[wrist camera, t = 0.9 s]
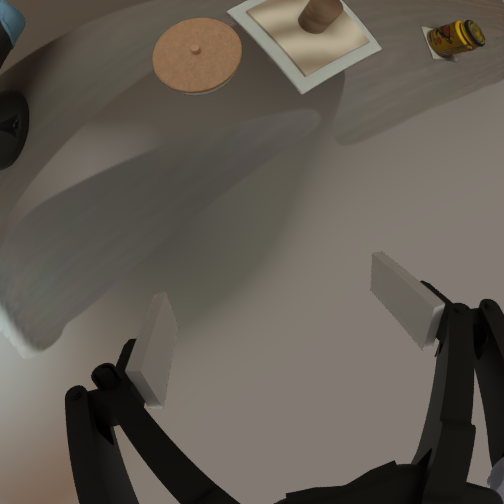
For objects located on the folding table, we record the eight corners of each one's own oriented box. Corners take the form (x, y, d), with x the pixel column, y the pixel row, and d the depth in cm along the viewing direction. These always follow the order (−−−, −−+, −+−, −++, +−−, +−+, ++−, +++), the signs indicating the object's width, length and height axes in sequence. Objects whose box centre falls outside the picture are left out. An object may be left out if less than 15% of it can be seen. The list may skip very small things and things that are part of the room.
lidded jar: (245, 43, 31) (251, 17, 22) (230, 107, 34) (232, 94, 26) (174, 36, 29) (161, 10, 20) (158, 99, 33) (139, 86, 24)
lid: (245, 13, 28) (250, -13, 21) (313, -17, 26) (329, -39, 18) (304, 77, 33) (322, 63, 26) (367, 43, 31) (392, 29, 23)
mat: (226, 12, 28) (226, 11, 28) (313, -25, 25) (314, -26, 25) (301, 95, 34) (302, 94, 34) (380, 50, 32) (381, 49, 31)
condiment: (420, 26, 29) (459, 11, 18) (446, 32, 29) (484, 21, 18) (432, 58, 32) (474, 49, 21) (457, 62, 32) (497, 56, 21)
